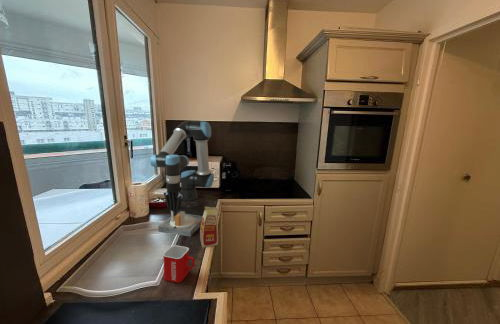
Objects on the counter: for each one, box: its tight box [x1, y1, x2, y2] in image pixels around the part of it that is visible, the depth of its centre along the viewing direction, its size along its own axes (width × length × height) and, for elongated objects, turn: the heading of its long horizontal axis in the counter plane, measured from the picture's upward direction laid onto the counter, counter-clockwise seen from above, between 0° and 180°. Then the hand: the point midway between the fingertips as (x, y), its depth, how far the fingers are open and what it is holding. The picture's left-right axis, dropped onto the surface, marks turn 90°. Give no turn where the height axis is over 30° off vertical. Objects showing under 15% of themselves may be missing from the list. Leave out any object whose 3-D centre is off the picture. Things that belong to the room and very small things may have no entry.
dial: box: [170, 211, 196, 228], centre depth 131 cm, size 15×15×7 cm
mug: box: [162, 245, 195, 284], centre depth 88 cm, size 12×8×11 cm
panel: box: [157, 212, 203, 237], centre depth 131 cm, size 20×20×4 cm
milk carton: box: [199, 206, 219, 249], centre depth 114 cm, size 9×9×20 cm
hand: (173, 220), depth 127 cm, fingers closed
